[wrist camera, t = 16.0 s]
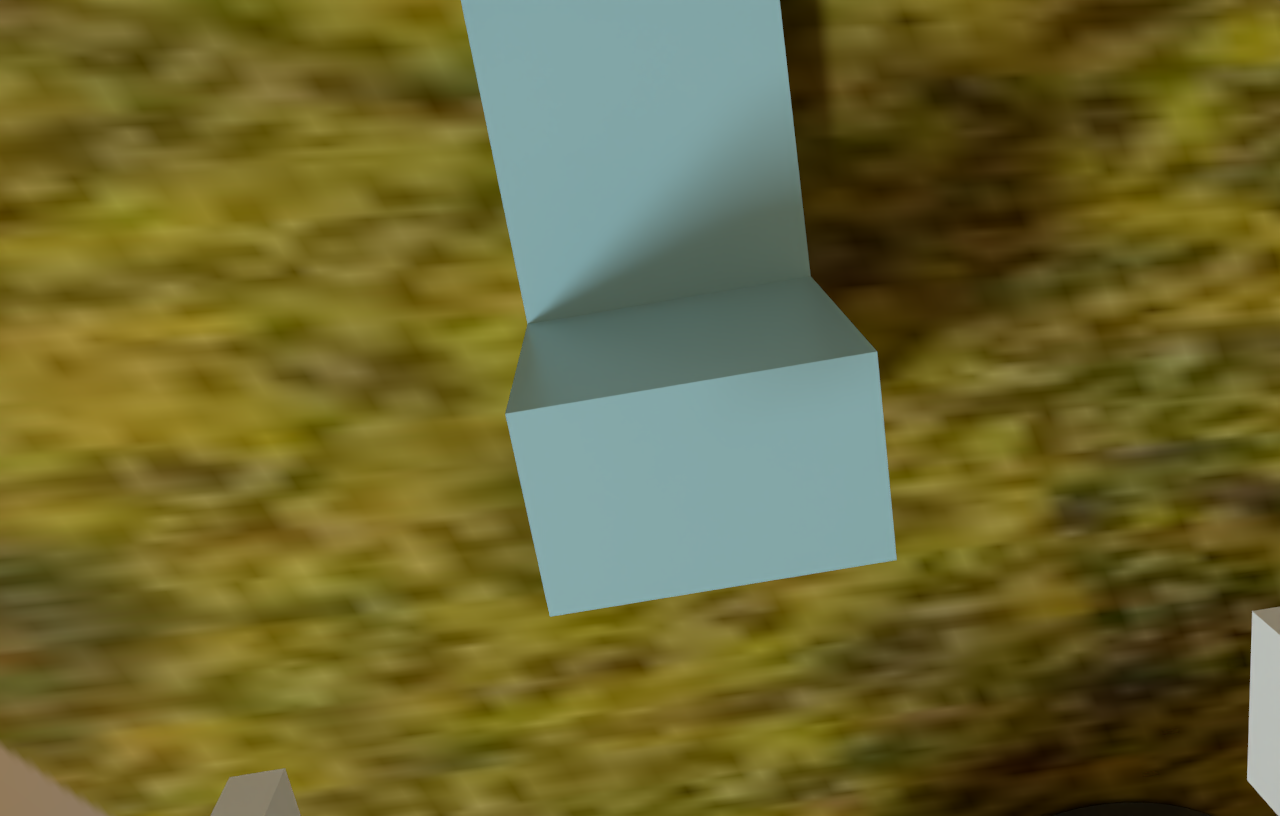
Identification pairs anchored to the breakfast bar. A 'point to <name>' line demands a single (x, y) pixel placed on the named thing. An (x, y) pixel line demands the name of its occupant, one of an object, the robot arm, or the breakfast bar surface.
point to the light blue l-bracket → (672, 306)
